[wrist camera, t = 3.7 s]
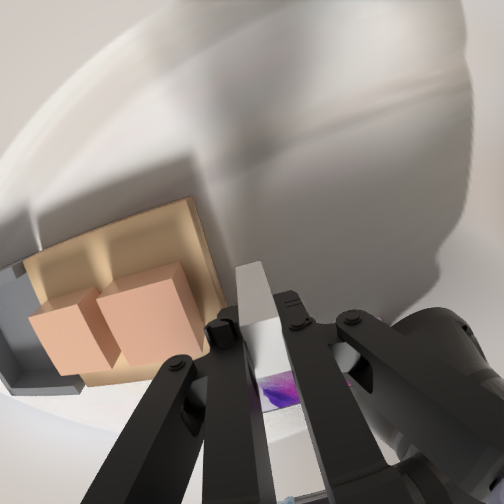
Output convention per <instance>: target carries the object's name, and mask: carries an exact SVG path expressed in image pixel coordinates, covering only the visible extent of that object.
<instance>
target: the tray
mask: <svg viewBox="0 0 504 504" xmlns="http://www.w3.org/2000/svg"><path fill="white" fill-rule="evenodd" d="M37 253H38V252H37ZM34 254H36V253H34ZM34 254H32V255H34ZM32 255H30V256H32ZM30 256H28V257H25V258H23V259H21V260H19V261H17V262H14V263H12V264H10V265H8V266H6V267H4V268H2V269H0V379H1V381H2V382H3V384H4V385H5V387H6V388H7V390H8V391H9V392H10V394H11V395H12V396H57V395H79V394H80V393H81V391H82V389H83V388H84V386H85V382H84V381H83V379H82V378H81V376H80V375H79V374H74V375H64V376H61V375H60V373H59V372H58V370H57V369H56V367H55V365H54V364H53V362H52V361H51V359H50V357H49V356H48V354H47V352H46V350H45V349H44V347H43V345H42V343H41V342H40V340H39V338H38V336H37V334H36V333H35V331H34V329H33V327H32V325H31V323H30V321H29V319H28V317H29V316H30V315H31V314H32V313H33V312H35V311H36V310H37V309H38V308H39V307H40V306H41V304H40V302H39V300H38V297H37V295H36V293H35V291H34V288H33V286H32V284H31V281H30V279H29V276H28V274H27V271H26V269H25V266H24V264H23V260H25V259H27V258H29V257H30Z"/></svg>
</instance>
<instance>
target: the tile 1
mask: <svg viewBox="0 0 504 504" xmlns="http://www.w3.org/2000/svg"><path fill="white" fill-rule="evenodd" d="M99 295H100V294H99V292H98V290H97V287H96V286H92V287H89V288H86V289H82V290H79V291H76V292H72V293H69V294H66V295H62V296H59V297H56V298H52V299H49V300H47V301H46V302H45V303H44V304H42V305H41V306H40V307H39V308H38V309H37V310H36V311H35V312H33V313H32V314H31V315H30V316H29V317H28V319H29V321H30V323H31V325H32V327H33V329H34V331H35V333H36V334H37V336H38V338H39V340H40V342H41V343H42V345H43V347H44V349H45V350H46V352H47V354H48V356H49V357H50V359H51V361H52V362H53V364H54V365H55V367H56V369H57V370H58V372H59V373H60V375H61V376H64V375H74V374H83V373H92V372H99V371H107V370H112V369H113V367H114V365H115V363H116V361H117V359H118V357H119V355H120V353H121V349H120V347H119V345H118V343H117V342H116V340H115V338H114V336H113V334H112V332H111V330H110V328H109V326H108V324H107V322H106V320H105V318H104V316H103V314H102V312H101V309H100V307H99V305H98V303H97V301H96V298H97V297H98V296H99Z"/></svg>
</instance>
